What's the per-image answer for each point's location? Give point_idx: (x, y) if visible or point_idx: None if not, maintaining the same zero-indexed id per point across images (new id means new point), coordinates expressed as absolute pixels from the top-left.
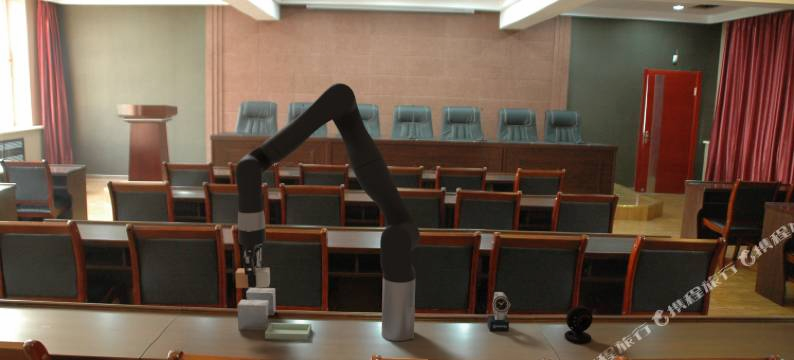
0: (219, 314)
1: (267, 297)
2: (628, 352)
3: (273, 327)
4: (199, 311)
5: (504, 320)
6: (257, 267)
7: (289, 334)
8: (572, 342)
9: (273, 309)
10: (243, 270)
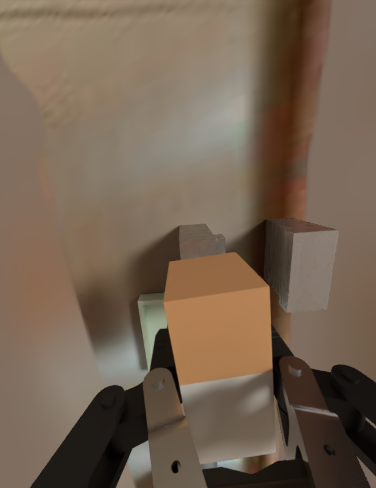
0: (267, 144)
1: (280, 290)
2: None
3: None
4: (289, 71)
5: None
6: (277, 400)
7: (144, 344)
8: None
9: (270, 284)
10: (219, 337)
